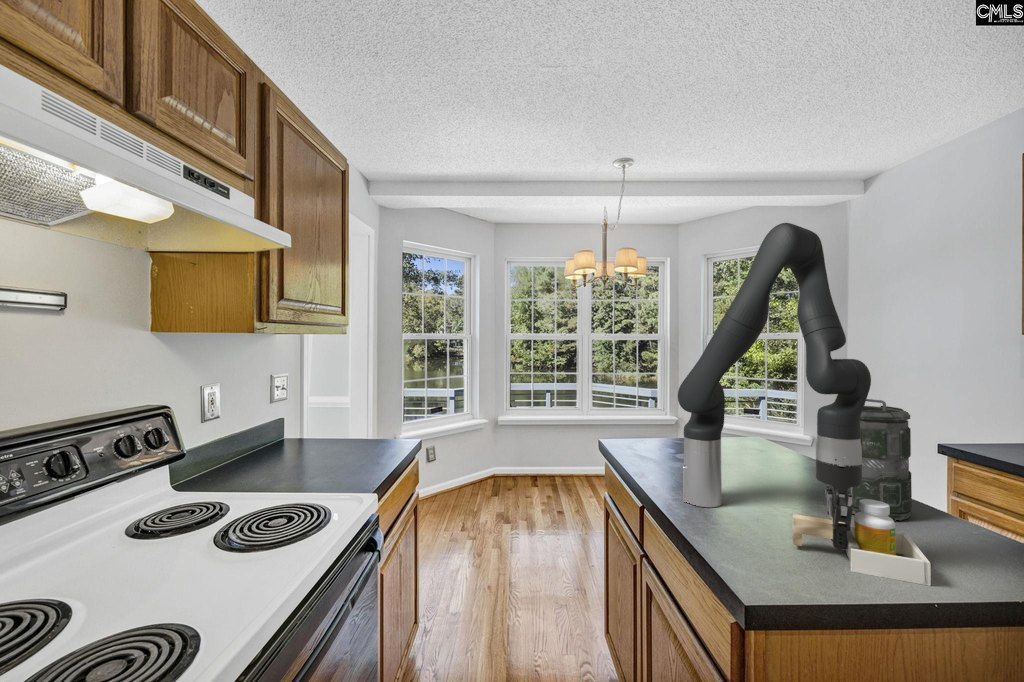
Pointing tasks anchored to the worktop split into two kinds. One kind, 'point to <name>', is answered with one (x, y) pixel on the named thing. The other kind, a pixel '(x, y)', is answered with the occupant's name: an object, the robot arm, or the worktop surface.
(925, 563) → the box
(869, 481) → the canister
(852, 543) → the scraper
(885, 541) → the supplement bottle
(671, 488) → the worktop surface
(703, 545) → the worktop surface
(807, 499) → the worktop surface
